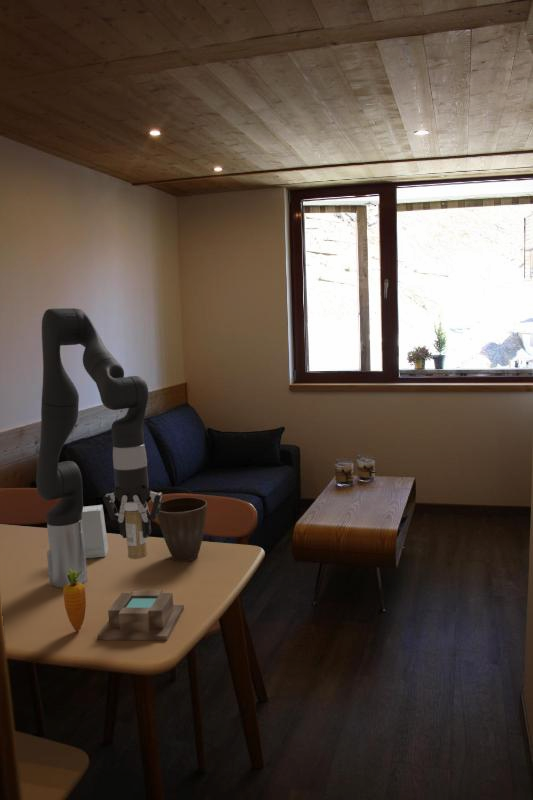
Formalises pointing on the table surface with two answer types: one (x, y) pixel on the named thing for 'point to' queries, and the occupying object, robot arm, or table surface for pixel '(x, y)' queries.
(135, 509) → the sprinkles bottle
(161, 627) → the socket block
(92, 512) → the skincare box
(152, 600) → the teal square tile
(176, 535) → the plant pot
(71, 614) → the carrot
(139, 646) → the table surface
